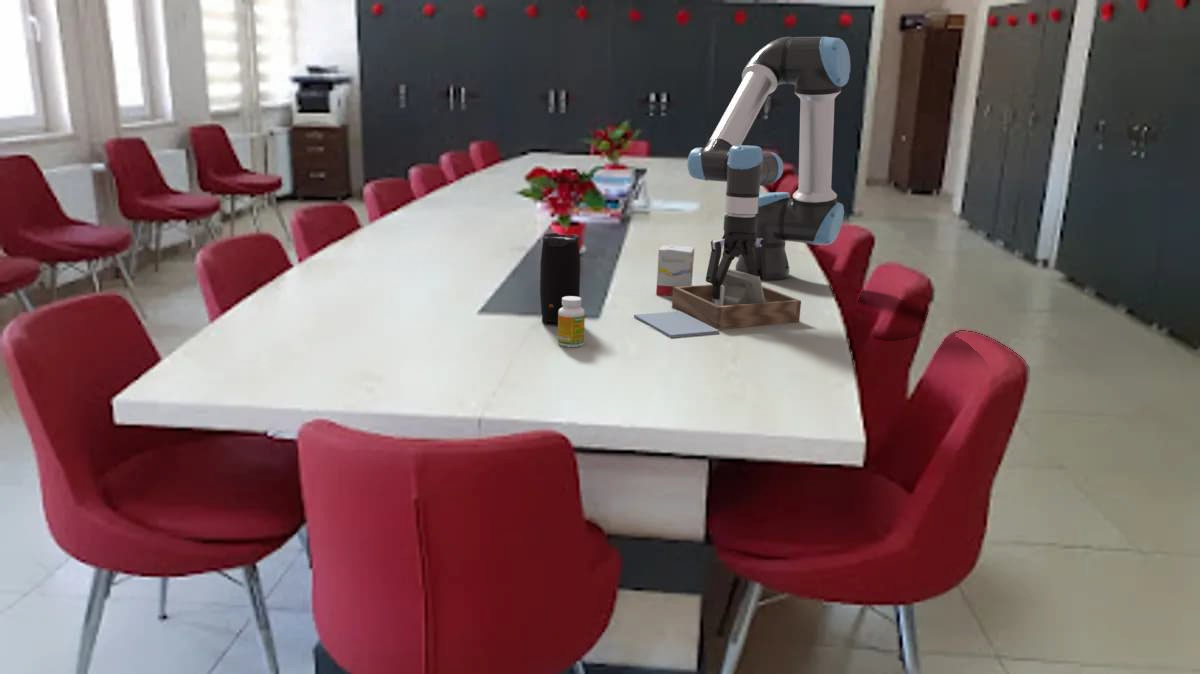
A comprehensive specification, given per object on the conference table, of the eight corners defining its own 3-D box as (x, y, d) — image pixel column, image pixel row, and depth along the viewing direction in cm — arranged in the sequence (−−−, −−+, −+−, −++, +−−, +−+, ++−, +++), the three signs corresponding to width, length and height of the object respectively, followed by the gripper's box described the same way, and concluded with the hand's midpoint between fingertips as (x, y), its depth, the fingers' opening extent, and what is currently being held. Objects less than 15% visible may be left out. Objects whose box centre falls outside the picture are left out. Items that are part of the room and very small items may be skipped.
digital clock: (770, 321, 214) (774, 276, 211) (736, 324, 211) (740, 278, 208) (733, 305, 228) (736, 262, 226) (701, 307, 225) (703, 264, 222)
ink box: (688, 297, 235) (691, 251, 232) (655, 295, 237) (657, 249, 233) (692, 290, 243) (695, 245, 240) (660, 288, 245) (662, 243, 242)
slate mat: (680, 313, 219) (680, 311, 219) (719, 333, 203) (719, 330, 203) (633, 317, 214) (634, 314, 214) (670, 337, 198) (670, 335, 198)
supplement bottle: (574, 349, 188) (575, 302, 185) (552, 344, 191) (553, 298, 188) (588, 343, 192) (590, 297, 190) (567, 339, 195) (568, 293, 192)
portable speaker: (558, 329, 202) (559, 240, 197) (531, 320, 208) (531, 234, 203) (587, 323, 208) (589, 236, 202) (560, 315, 214) (561, 230, 209)
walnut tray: (750, 301, 233) (751, 281, 232) (799, 321, 215) (801, 300, 213) (672, 307, 225) (673, 287, 223) (716, 329, 206) (717, 307, 205)
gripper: (769, 211, 220) (762, 304, 227) (693, 213, 212) (687, 310, 219) (788, 215, 214) (779, 312, 220) (710, 218, 206) (703, 318, 212)
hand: (733, 311), depth 219 cm, fingers closed on digital clock, 8 cm apart
